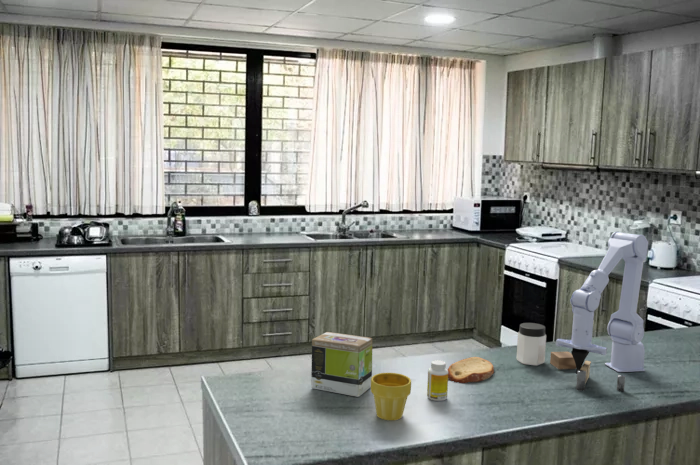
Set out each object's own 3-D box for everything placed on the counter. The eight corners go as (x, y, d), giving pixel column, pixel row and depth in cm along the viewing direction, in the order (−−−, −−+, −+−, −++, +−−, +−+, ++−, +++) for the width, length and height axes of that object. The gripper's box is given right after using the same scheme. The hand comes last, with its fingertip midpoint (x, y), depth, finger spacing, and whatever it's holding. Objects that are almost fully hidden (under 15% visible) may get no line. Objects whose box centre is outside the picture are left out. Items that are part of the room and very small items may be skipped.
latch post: (621, 388, 193) (622, 374, 192) (625, 391, 191) (626, 376, 190) (615, 389, 192) (616, 374, 192) (619, 391, 190) (620, 377, 190)
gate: (584, 387, 192) (585, 371, 192) (578, 386, 193) (579, 370, 192) (590, 376, 202) (591, 361, 201) (584, 375, 203) (585, 360, 202)
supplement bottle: (451, 400, 181) (452, 364, 180) (434, 403, 178) (435, 366, 177) (439, 393, 186) (441, 358, 185) (423, 396, 183) (424, 360, 182)
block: (567, 363, 216) (568, 351, 215) (576, 369, 210) (577, 357, 209) (550, 363, 215) (550, 351, 214) (558, 369, 209) (559, 357, 209)
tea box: (372, 387, 190) (373, 337, 188) (358, 398, 181) (359, 346, 179) (325, 378, 196) (327, 330, 194) (309, 389, 187) (310, 338, 185)
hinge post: (582, 387, 193) (583, 369, 192) (586, 390, 190) (587, 372, 190) (574, 388, 192) (575, 370, 192) (578, 391, 190) (580, 372, 189)
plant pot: (416, 421, 166) (417, 384, 165) (377, 425, 163) (378, 387, 162) (401, 406, 176) (402, 370, 175) (364, 409, 173) (365, 373, 172)
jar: (534, 367, 210) (536, 331, 209) (512, 361, 216) (514, 325, 214) (548, 361, 216) (550, 326, 215) (526, 355, 222) (528, 321, 221)
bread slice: (485, 362, 215) (485, 351, 214) (509, 382, 197) (509, 370, 197) (432, 365, 211) (433, 353, 211) (452, 385, 194) (452, 373, 193)
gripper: (554, 327, 198) (550, 371, 200) (604, 336, 190) (600, 382, 192) (561, 323, 204) (557, 365, 206) (610, 331, 196) (606, 375, 198)
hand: (578, 373), depth 199 cm, fingers closed
